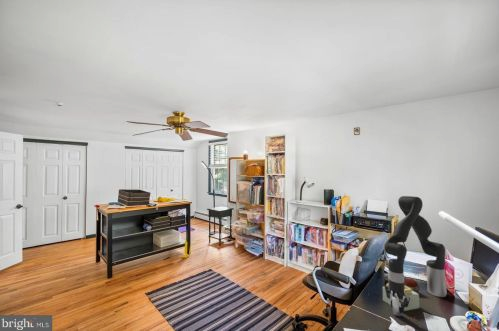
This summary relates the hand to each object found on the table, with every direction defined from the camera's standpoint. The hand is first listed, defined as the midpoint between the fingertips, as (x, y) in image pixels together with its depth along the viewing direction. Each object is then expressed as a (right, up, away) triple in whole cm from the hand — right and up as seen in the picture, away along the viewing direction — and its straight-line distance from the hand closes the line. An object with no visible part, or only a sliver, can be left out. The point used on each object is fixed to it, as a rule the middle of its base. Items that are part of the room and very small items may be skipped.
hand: (397, 310), depth 120 cm
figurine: (+20, -4, +26) cm, 33 cm away
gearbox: (+9, -3, +12) cm, 15 cm away
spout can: (0, -2, 0) cm, 2 cm away
